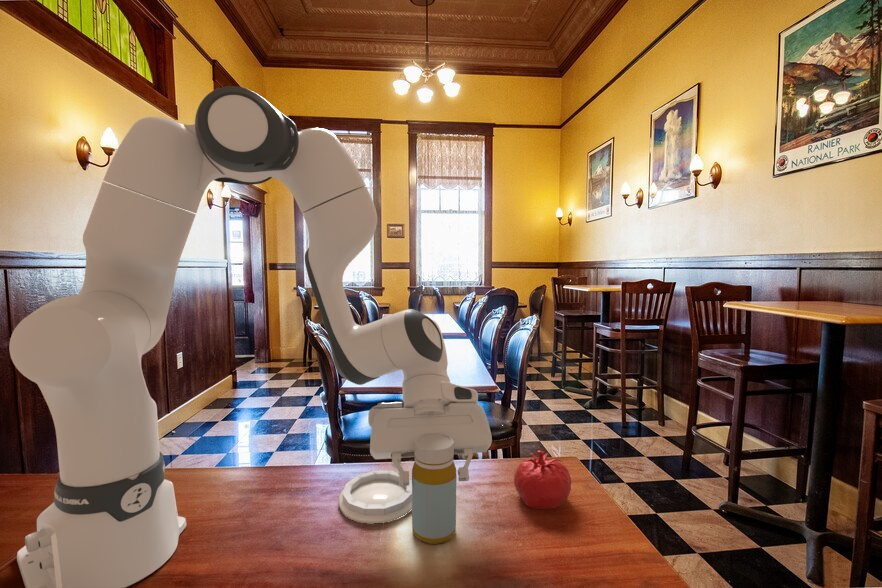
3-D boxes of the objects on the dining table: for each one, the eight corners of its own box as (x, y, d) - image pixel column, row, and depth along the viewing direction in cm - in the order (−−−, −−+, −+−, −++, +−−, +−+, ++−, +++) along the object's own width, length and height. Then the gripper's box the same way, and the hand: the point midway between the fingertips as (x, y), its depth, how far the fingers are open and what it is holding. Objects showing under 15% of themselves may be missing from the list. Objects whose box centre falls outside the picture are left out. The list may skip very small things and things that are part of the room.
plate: (322, 509, 73) (321, 497, 73) (371, 472, 85) (371, 462, 85) (388, 534, 66) (388, 521, 66) (431, 490, 79) (431, 479, 78)
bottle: (451, 549, 63) (452, 453, 62) (406, 542, 64) (406, 449, 63) (458, 520, 70) (459, 433, 68) (418, 515, 71) (418, 430, 70)
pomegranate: (578, 516, 71) (581, 465, 70) (520, 517, 71) (522, 465, 70) (559, 484, 81) (561, 438, 80) (508, 484, 81) (510, 438, 80)
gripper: (368, 395, 71) (366, 481, 62) (485, 390, 74) (500, 471, 65) (369, 411, 75) (368, 493, 67) (479, 405, 78) (492, 483, 70)
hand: (434, 482), depth 66 cm, fingers open, 8 cm apart
